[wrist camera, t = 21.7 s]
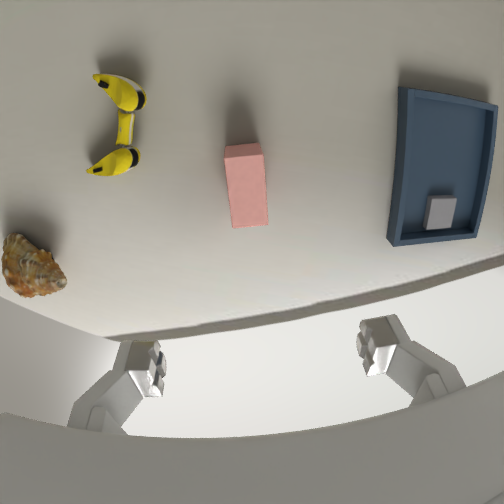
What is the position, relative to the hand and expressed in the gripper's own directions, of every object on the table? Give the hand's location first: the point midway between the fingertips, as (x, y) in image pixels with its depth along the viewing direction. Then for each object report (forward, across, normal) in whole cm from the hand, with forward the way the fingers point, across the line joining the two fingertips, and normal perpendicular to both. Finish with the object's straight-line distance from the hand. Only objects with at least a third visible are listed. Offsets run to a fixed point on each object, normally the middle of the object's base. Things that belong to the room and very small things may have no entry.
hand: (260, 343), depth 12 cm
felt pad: (+21, -23, +5) cm, 31 cm away
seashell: (+21, +27, +6) cm, 35 cm away
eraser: (+21, 0, 0) cm, 21 cm away
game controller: (+21, +11, -7) cm, 25 cm away
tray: (+21, -23, 0) cm, 31 cm away
